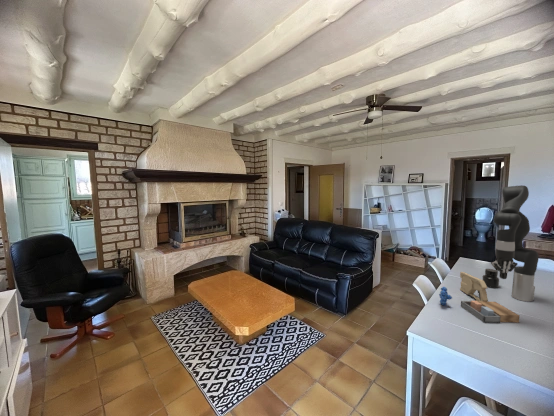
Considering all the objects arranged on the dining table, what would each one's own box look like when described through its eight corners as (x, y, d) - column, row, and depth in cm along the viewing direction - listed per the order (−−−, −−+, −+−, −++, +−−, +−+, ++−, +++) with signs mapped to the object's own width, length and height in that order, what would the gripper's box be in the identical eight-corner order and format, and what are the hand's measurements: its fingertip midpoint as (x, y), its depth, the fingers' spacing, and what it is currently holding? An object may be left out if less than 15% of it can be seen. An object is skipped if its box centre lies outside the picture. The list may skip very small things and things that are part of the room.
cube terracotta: (475, 300, 138) (470, 300, 138) (482, 304, 133) (476, 304, 134) (475, 307, 138) (470, 307, 138) (481, 311, 134) (476, 311, 134)
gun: (488, 307, 140) (488, 282, 140) (482, 306, 141) (482, 282, 141) (464, 292, 164) (464, 271, 164) (459, 292, 165) (459, 271, 164)
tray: (474, 306, 141) (475, 301, 141) (500, 323, 124) (500, 316, 124) (460, 306, 142) (461, 300, 141) (483, 322, 125) (484, 316, 124)
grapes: (451, 311, 136) (452, 291, 135) (437, 307, 140) (438, 288, 139) (452, 303, 145) (453, 285, 144) (439, 300, 149) (440, 282, 148)
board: (494, 308, 139) (495, 301, 139) (519, 322, 124) (519, 315, 124) (477, 307, 140) (477, 301, 140) (499, 322, 125) (500, 315, 125)
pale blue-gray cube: (487, 306, 131) (481, 306, 131) (493, 310, 126) (488, 310, 127) (486, 314, 131) (480, 314, 132) (493, 318, 127) (487, 318, 127)
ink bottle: (492, 283, 174) (493, 268, 173) (502, 288, 165) (504, 272, 164) (478, 283, 175) (479, 267, 174) (487, 288, 166) (489, 272, 165)
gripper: (510, 246, 132) (508, 275, 134) (486, 247, 132) (485, 276, 134) (524, 250, 124) (522, 281, 126) (499, 250, 125) (496, 281, 127)
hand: (503, 278), depth 130 cm, fingers closed
